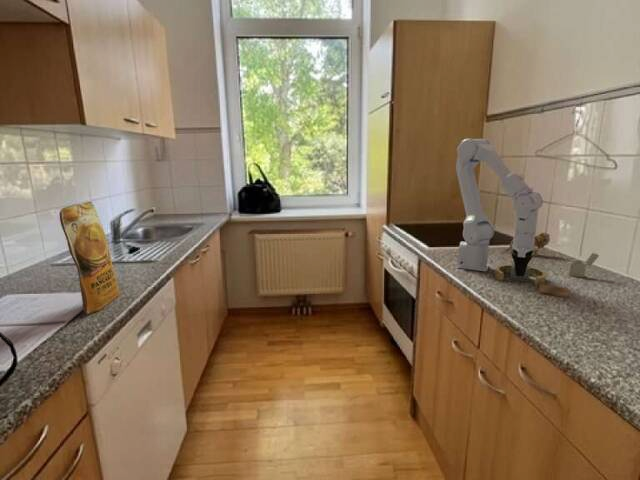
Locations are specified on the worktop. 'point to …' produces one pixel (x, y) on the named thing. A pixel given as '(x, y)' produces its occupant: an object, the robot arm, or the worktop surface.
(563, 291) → the coaster
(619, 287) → the worktop surface
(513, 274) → the c link
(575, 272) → the lighter
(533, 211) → the robot arm
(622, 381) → the worktop surface
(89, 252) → the pancake mix bag
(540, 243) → the lion figurine
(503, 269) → the c ring
